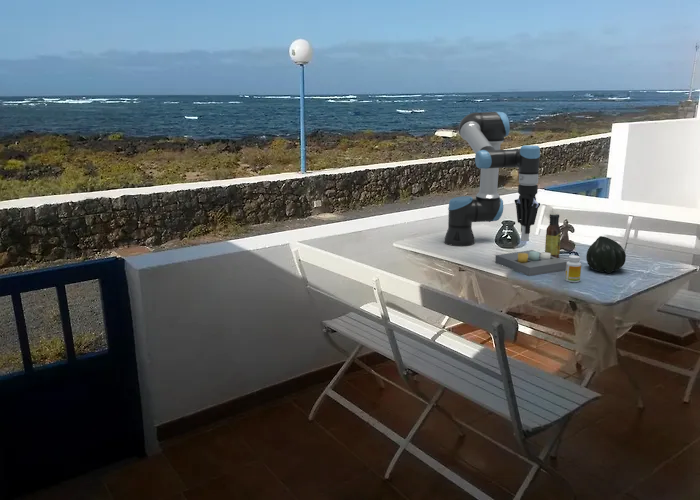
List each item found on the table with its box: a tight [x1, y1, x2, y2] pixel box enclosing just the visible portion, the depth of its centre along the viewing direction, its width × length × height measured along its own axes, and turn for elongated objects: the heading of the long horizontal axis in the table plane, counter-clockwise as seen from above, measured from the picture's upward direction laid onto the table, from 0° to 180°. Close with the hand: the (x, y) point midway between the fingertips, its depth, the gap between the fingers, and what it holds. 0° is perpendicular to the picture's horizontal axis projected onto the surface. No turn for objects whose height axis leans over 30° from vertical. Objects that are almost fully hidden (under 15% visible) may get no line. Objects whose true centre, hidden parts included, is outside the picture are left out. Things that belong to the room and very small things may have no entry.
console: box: [494, 249, 569, 277], centre depth 226 cm, size 22×20×4 cm
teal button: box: [529, 250, 541, 262], centre depth 224 cm, size 4×4×4 cm
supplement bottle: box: [564, 254, 582, 283], centre depth 205 cm, size 5×5×10 cm
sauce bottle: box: [544, 213, 562, 259], centre depth 237 cm, size 7×6×20 cm
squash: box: [585, 235, 627, 273], centre depth 217 cm, size 14×15×15 cm
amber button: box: [518, 253, 528, 263], centre depth 222 cm, size 4×4×4 cm
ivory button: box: [540, 251, 551, 260], centre depth 226 cm, size 4×4×4 cm
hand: (524, 240), depth 220 cm, fingers closed
